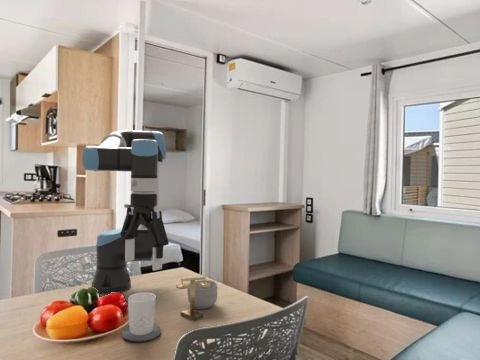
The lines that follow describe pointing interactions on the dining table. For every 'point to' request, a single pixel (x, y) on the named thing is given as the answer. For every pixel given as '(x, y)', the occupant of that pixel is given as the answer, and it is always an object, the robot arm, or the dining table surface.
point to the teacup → (204, 294)
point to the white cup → (141, 312)
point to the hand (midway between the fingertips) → (142, 264)
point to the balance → (192, 297)
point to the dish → (141, 338)
